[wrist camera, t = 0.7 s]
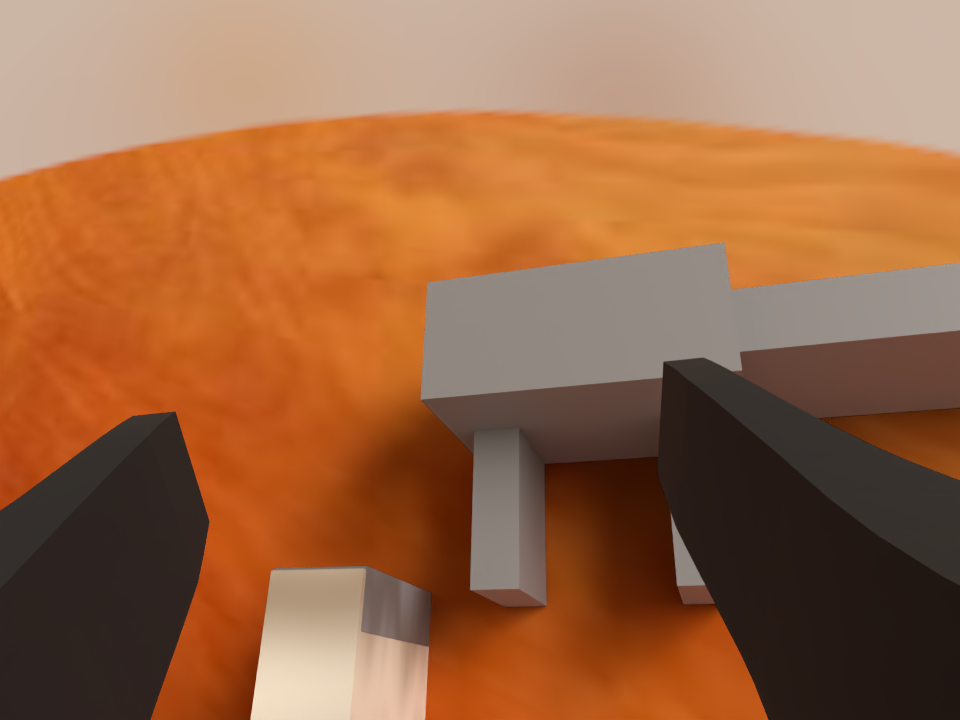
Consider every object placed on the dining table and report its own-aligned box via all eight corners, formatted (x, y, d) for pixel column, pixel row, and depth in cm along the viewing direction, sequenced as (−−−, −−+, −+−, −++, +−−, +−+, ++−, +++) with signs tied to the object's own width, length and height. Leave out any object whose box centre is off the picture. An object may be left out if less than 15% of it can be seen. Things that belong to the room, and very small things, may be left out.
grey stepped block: (1312, 596, 20) (1571, 544, 14) (482, 607, 26) (410, 574, 20) (1185, 301, 24) (1344, 159, 18) (487, 370, 30) (427, 282, 24)
